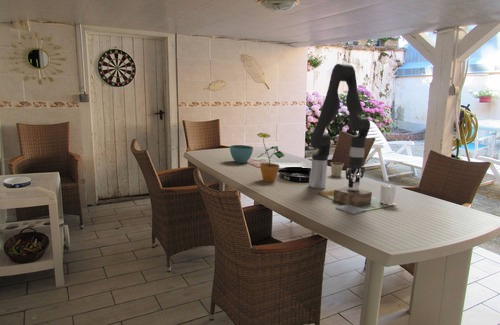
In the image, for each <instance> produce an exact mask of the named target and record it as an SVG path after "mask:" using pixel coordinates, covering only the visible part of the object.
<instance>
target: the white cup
mask: <svg viewBox="0 0 500 325" xmlns="http://www.w3.org/2000/svg"><path fill="white" fill-rule="evenodd" d="M396 190H397V185H395V184H393V183H381V184H380V192H379V203H380V202H381V203H383V204H382V205H384V204H393V205H394V202H395V196H396ZM381 203H380V204H381Z"/></svg>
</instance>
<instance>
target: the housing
mask: <svg viewBox="0 0 500 325" xmlns="http://www.w3.org/2000/svg"><path fill="white" fill-rule="evenodd" d="M348 190H349V187H348V186H345V187H339V188H335V189H333V198H332V199H333V202H338V203H341V202H343V203H342V204H344V203H346V204H349V205H353V206H357V207H359V206H358V205H361V206H363V205H362V204H365V203H369V202H371V203H372V196H373V194H372V193H373V192H372V191H368V190H365V189H363V188H359V187H358V192H356V193H353V192H349V191H348ZM346 204H345V205H346ZM369 204H370V203H369ZM365 205H366V204H365Z"/></svg>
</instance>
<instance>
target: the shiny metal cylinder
mask: <svg viewBox="0 0 500 325" xmlns="http://www.w3.org/2000/svg"><path fill="white" fill-rule="evenodd" d="M359 187H360V182H359V181H356V180H355V179H353V187H352V188H350V187H349V190H348V191H349V192H353V193H356V192H358V188H359Z"/></svg>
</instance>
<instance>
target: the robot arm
mask: <svg viewBox="0 0 500 325" xmlns="http://www.w3.org/2000/svg"><path fill="white" fill-rule="evenodd" d="M329 79H330V80H329V83H328V88H327V92H326V96H325V98H324V100H323V103H322V106H321V110H320V114H319V116H318V120H317V122H316V125H315V127H314V129H313V131H312V134H311V137H310V146H311V148H313V149H318V150H317V151H316V152H314V153H313V154H312V155H311V169H310V170H309V180H308V186H309V187H311V188H313V189H318V190H320V189H325V188H326V182H327V181H326V180H327V170H328V158H329V155H330V149H331V143H332V142H331V141H332V140H331V136H330V134H329V133H327V132H325V131H326V129H327V127H328V126H329V125H330V124H331V123H332V122H333V121H334V120H335V119H336V117H337V115H338V113H339V109H340V106H341V100H340V96H339V87H340V84H341V82H345V83H346V86H347V94H346V96H345V103H346V107H347V111H348V124H349V128H350V129H351V131H354V132H358V133H357V134H355V135H352V136H351V140H350V149H349V154H348V155H349V156H348V164H349V167H348V168H345V180H348V185H347V187H350V188H352V187H353V180H356V181H359V183H360V181H361V179H363V177H364V173H365V169H366V168H365V166H363V165H364V161H365V145H366V139H367V137H368V134H369V131H370V128H371V122H370V119H369V118H368V117H359V116H360V115H361V114H362V113H363V111H364V110H363V107H362V106H363V105H362V103H361V100H360V97H359V91H358V85H357V84H358V83H357V76H356V71H355V68H354V66H353V65H351V64H346V63H336V64H335V65H334V66H333V68H332V71H331V74H330V78H329ZM354 178H355V179H354Z"/></svg>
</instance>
